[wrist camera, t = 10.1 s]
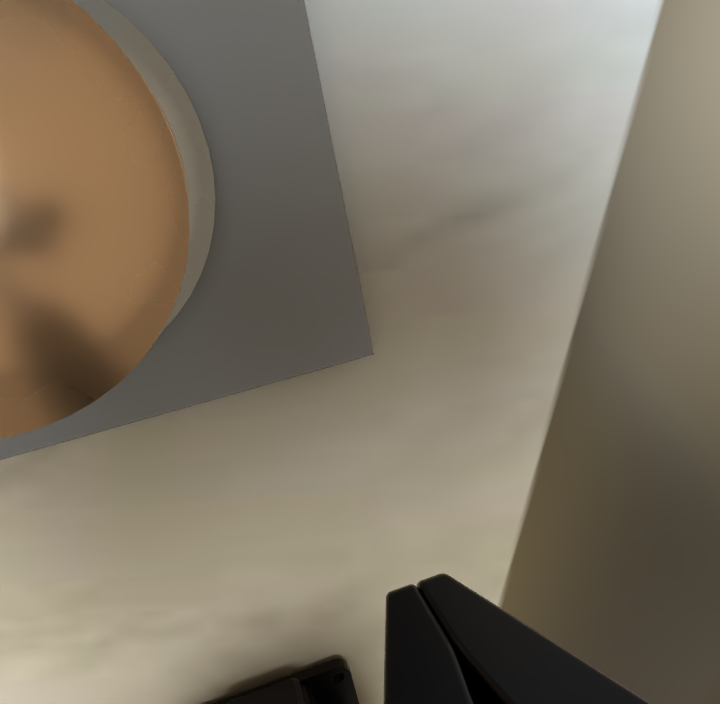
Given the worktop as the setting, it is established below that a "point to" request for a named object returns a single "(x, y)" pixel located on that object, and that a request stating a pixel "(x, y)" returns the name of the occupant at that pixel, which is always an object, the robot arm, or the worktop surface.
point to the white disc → (183, 129)
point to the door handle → (80, 214)
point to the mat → (244, 220)
